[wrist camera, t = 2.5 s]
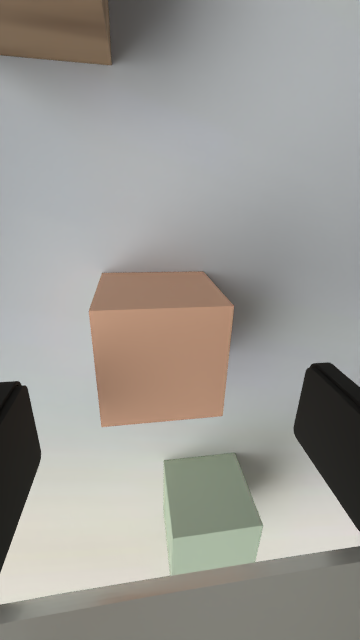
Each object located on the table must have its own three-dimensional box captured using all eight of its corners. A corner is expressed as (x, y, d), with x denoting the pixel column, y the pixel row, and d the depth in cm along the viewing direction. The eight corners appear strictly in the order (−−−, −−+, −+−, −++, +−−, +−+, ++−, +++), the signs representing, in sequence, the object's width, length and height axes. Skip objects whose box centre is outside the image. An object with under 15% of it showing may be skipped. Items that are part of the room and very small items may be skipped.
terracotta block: (102, 272, 14) (88, 310, 10) (202, 271, 15) (234, 305, 10) (109, 360, 16) (101, 426, 12) (197, 355, 17) (222, 415, 12)
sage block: (163, 459, 20) (172, 538, 15) (234, 451, 21) (263, 525, 16) (163, 508, 22) (171, 590, 17) (227, 499, 23) (251, 577, 18)
